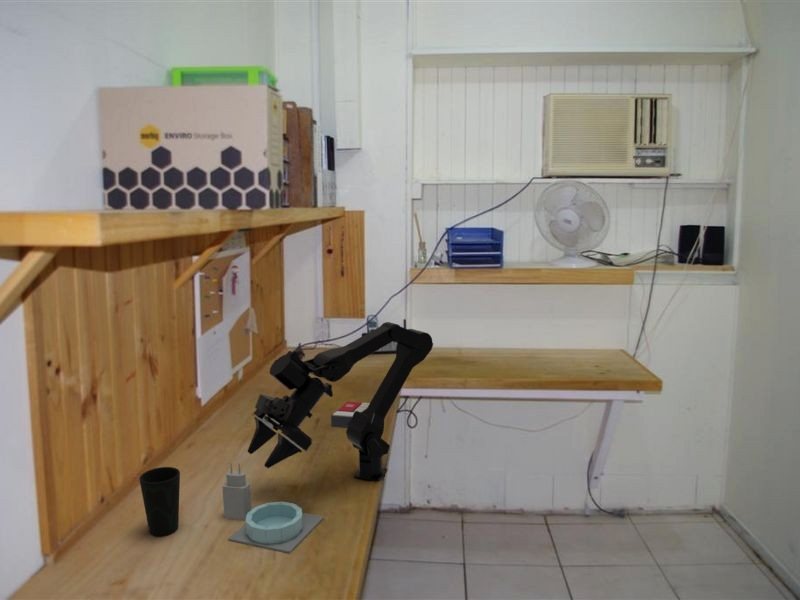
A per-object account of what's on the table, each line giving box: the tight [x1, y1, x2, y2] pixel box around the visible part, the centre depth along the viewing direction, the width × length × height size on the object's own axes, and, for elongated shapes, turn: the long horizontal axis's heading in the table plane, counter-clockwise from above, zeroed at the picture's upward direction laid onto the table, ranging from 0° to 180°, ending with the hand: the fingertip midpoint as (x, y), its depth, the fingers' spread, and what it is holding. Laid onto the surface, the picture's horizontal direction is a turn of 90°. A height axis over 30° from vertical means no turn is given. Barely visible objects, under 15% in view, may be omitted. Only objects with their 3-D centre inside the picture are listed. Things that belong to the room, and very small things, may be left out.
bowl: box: [245, 501, 303, 544], centre depth 126 cm, size 11×11×3 cm
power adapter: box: [221, 462, 252, 521], centre depth 132 cm, size 3×5×12 cm, turn 78°
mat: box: [228, 512, 325, 554], centre depth 127 cm, size 14×14×1 cm
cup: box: [139, 466, 181, 538], centre depth 126 cm, size 8×8×12 cm
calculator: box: [330, 401, 370, 429], centre depth 191 cm, size 11×4×15 cm
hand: (257, 459), depth 134 cm, fingers open, 9 cm apart
